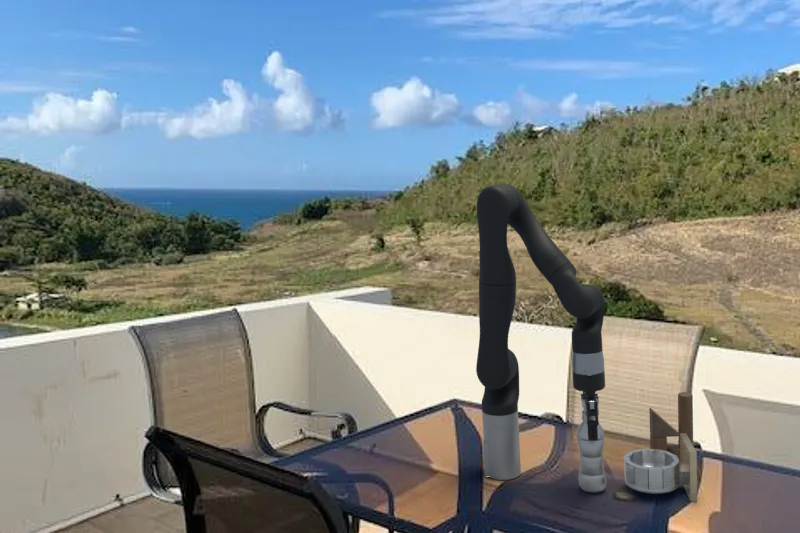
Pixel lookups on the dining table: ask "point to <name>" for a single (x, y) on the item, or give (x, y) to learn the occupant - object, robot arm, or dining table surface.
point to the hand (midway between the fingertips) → (591, 433)
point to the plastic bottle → (591, 458)
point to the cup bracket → (662, 469)
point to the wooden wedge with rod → (664, 430)
